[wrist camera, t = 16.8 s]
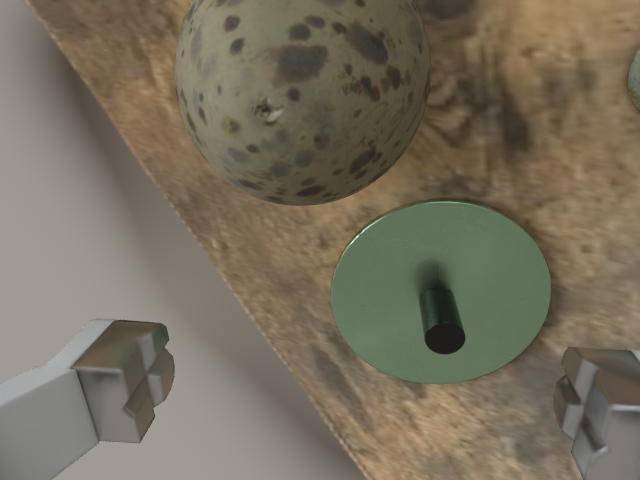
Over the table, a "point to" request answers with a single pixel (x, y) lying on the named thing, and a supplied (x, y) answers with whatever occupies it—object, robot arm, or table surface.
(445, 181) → the table surface
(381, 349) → the pot lid
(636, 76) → the soupspoon
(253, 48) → the decorative egg
